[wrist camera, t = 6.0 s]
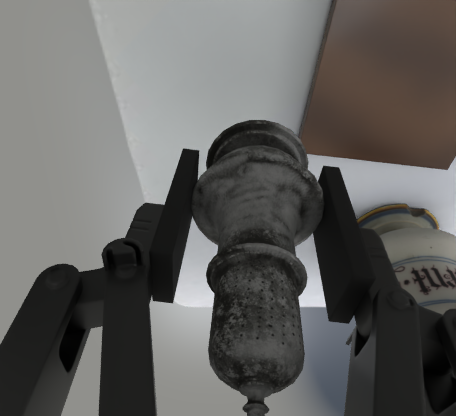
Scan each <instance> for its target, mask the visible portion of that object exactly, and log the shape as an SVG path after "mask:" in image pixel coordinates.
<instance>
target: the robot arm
mask: <svg viewBox="0 0 456 416" xmlns="http://www.w3.org/2000/svg"><path fill="white" fill-rule="evenodd" d="M198 164H199V150H190V149H183V151H182V154H181V157H180V160H179V163H178V166H177V169H176V172H175V175H174V178H173V181H172V184H171V187H170V190H169V193H168V196H167V199H166V202H165V205H161V204H152V203H144V204H143V205H142V206H141V207H140V208H139V209H138V210H137V211H136V214H135V216H134V218H133V221H132V223H131V225H130V228H129V230H128V232H127V235H126V237H125V238H121V239H117V240H114V241H112V242H110V243H108V244H107V246H106V247H105V248H104V249H103V252H102V259H103V263H104V267H103V268H100V269H95V270H89V271H83V272H79V271H78V269H77V268H76V267H74V266H73V265H68V264H57V265H54V266H51V267H49V268H47V269H46V270H44V271H43V272H41V274H40V275H39V276H38V277H37V279H36V280H35V282H34V284H33V286H32V288H31V289H30V291H29V293H28V295H27V297H26V299H25V300H24V302H23V304H22V306H21V308H20V310H19V311H18V313H17V315H16V317H15V319H14V321H13V323H12V324H11V326H10V328H9V330H8V332H7V334H6V335H5V337H4V339H3V341H2V343H1V344H0V416H61V413H62V410H63V407H64V405H65V402H66V399H67V396H68V393H69V390H70V387H71V384H72V381H73V379H74V376H75V373H76V370H77V367H78V364H79V361H80V358H81V355H82V352H83V349H84V346H85V344H86V341H87V338H88V335H89V332H90V329H91V328H95V327H101V326H103V330H102V352H101V375H100V397H99V416H157V408H156V393H155V378H154V365H153V350H152V338H151V322H150V308H149V303H150V300H151V296H152V298H153V301H158V302H166V303H173V300H174V296H175V292H176V287H177V283H178V278H179V274H180V269H181V265H182V260H183V256H184V251H185V247H186V242H187V238H188V233H189V229H190V224H191V220H192V210H191V198H192V193H193V189H194V187H195V185H196V183H197V181H198ZM318 183H319V185H320V187H321V188H322V192H323V198H324V203H325V205H324V211H323V217H322V219H321V221H320V223H319V225H318V227H317V228H316V230H315V231H314V232H313V236H314V241H315V247H316V252H317V258H318V263H319V269H320V275H321V280H322V286H323V291H324V297H325V302H326V308H327V313H328V319H329V321H331V322H339V323H349V322H350V321H351V319H352V318H353V316H355V321H356V327H355V329H354V330H353V332H352V333H351V335H350V336H349V338H348V340H347V342H346V344H347V345H349V344H350V342H351V341H352V343H351V353H350V364H349V373H348V384H347V392H346V402H345V412H344V416H456V309H449V310H447V311H445V313H444V314H443V315H442V314H440V313H437V312H435V311H432V310H429V309H427V308H424V307H422V306H420V305H418V304H417V302H416V300H415V299H414V297H413V296H412V295H411V294H410V293H409V292H407V291H406V290H405V289H403V288H401V287H400V284H399V282H398V279H397V277H396V274H395V272H394V269H393V267H392V264H391V261H390V259H389V258H388V254H387V251H386V250H385V246H384V244H383V241H382V239H381V237H380V236H379V235H378V234H377V233H376V232H375V231H374V230H373V229H368V228H360V227H359V225H358V222H357V219H356V216H355V213H354V210H353V207H352V204H351V201H350V198H349V195H348V192H347V189H346V187H345V184H344V181H343V178H342V175H341V172H340V169H339V168H338V167H330V166H323V168H322V171H321V174H320V177H319V180H318Z"/></svg>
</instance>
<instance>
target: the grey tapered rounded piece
mask: <svg viewBox="0 0 456 416" xmlns="http://www.w3.org/2000/svg"><path fill="white" fill-rule="evenodd" d="M206 167H207V171H205V172H204V173H203V174H202V175H201V176H200V178H199V180H198V181H197V183H196V185H195V187H194V189H193V193H192V198H191V210H192V216H193V219H194V221H195V223H196V225H197V226H198V228H199V230H200V231H201V232H202V233H203V234H204V235H205V236H206V237H207V238H208V239H209V240H211V241H212V242H214V243H215V244H217V245H218V252H217V255H216V256H214V258H213V259H212V260H211V262H210V263H209V264H208V268H207V272H206V277H207V283H208V285H209V287H210V288H211V290H212V291H213V292H214V293H215V296H214V304H213V313H212V322H211V330H210V339H209V348H208V352H209V360H210V365H211V367H212V369H213V370H214V372H215V374H216V375H217V376H218V378H219V379H220V380H222V381H223V382H224V383H226V384H227V385H229V386H230V387H231V388H233V389H235V390H237V391H240V393H241V394H242V395H244V396H247V398H248V402H247V404H245V405H244V407H243V410H244V411H245V412H247V416H265V415H264V414H265V413H268V411H269V408H268V407H267V406H266V405H265V404H264V398H265V397H268V396H270V395H271V394H272V393H276V392H279V391H281V390H283V389H285V388H286V387H288V386H289V385H291V384H293V383H294V382H295V380H296V379H297V377H298V376H299V374H300V373H301V371H302V369H303V363H304V355H305V353H304V345H303V335H302V328H301V327H302V326H301V317H300V308H299V299H298V296H299V295H301V294H302V292H303V291H304V289H305V287H306V284H307V273H306V270H305V267H304V265H303V264H302V263H301V261H300V260H299V259H298V258H297V257H296V253H295V246H297V245H299V244H300V243H302V242H303V241H305V240H306V239H307V238H308V237H309V236H310V235H311V234H312V233H313V232H314V231H315V230H316V228H317V227H318V225H319V223H320V221H321V219H322V217H323V211H324V205H325V203H324V198H323V192H322V188H321V187H320V185H319V183H318V181H317V180H316V178H315V176H314V175H313V174H312V173H311V172H310V171H309V170H308V158H307V153H306V149H305V147H304V145H303V144H302V142H301V140H300V138H298V137H297V136H296V135H295V134H294V133H293V132H292V131H291V130H290V129H288V128H286V127H284V126H282V125H280V124H278V123H275V122H270V121H266V120H249V121H245V122H241V123H238V124H235V125H233V126H231V127H229V128H228V129H226V130H224V131H223V132H222V133H221V134H220V135H219V136H218V137H217V138H216V139H215V140H214V142H213V143H212V145H211V147H210V149H209V151H208V156H207V161H206Z"/></svg>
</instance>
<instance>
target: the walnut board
mask: <svg viewBox="0 0 456 416" xmlns="http://www.w3.org/2000/svg"><path fill="white" fill-rule="evenodd" d="M298 138H300V140H301V142H302V144H303V145H304V147H305V149H306V153H307V154H313V155H322V156H331V157H340V158H348V159H357V160H366V161H374V162H383V163H392V164H401V165H409V166H418V167H427V168H435V169H444V170H448V168H449V166H450V165H451V163H452V161H453V160H454V158H455V156H456V0H333V2H332V6H331V10H330V14H329V18H328V22H327V25H326V29H325V33H324V37H323V41H322V45H321V49H320V53H319V57H318V61H317V65H316V69H315V73H314V77H313V81H312V85H311V89H310V93H309V97H308V101H307V105H306V109H305V113H304V117H303V121H302V125H301V129H300V133H299V137H298Z"/></svg>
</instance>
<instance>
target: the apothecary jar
mask: <svg viewBox="0 0 456 416" xmlns="http://www.w3.org/2000/svg"><path fill="white" fill-rule="evenodd" d="M357 222H358V225H359V227H360V228H368V229H373V230H374V231H375V232H376V233H377V234H378V235H379V236H380V237H381V239H382V241H383V244H384V246H385V250H386V251H387V254H388V258H389V259H390V261H391V264H392V267H393V269H394V272H395V274H396V277H397V279H398V282H399V284H400V287H401V288H403V289H405V290H406V291H407V292H409V293H410V294H411V295H412V296H413V297H414V299H415V300H416V302H417V304H418V305H420V306H422V307H424V308H427V309H429V310H432V311H435V312H437V313H440V314H442V315H443V314H444V313H445V311H447V310H449V309H456V237H455V236H454V235H452V234H449V233H447V232H444V231H441V230H439V225H438V222H437V220H436V218H435V217H434V216H433V215H432V214H431V213H430V212H429V211H427V210H425V209H411V208H409V206H408V205H406V204H395V205H388V206H383V207H380V208H378V209H375V210H373V211H371V212H369V213H367V214H365V215H363V216H362V217H360V218H359V219H358V220H357Z"/></svg>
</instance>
